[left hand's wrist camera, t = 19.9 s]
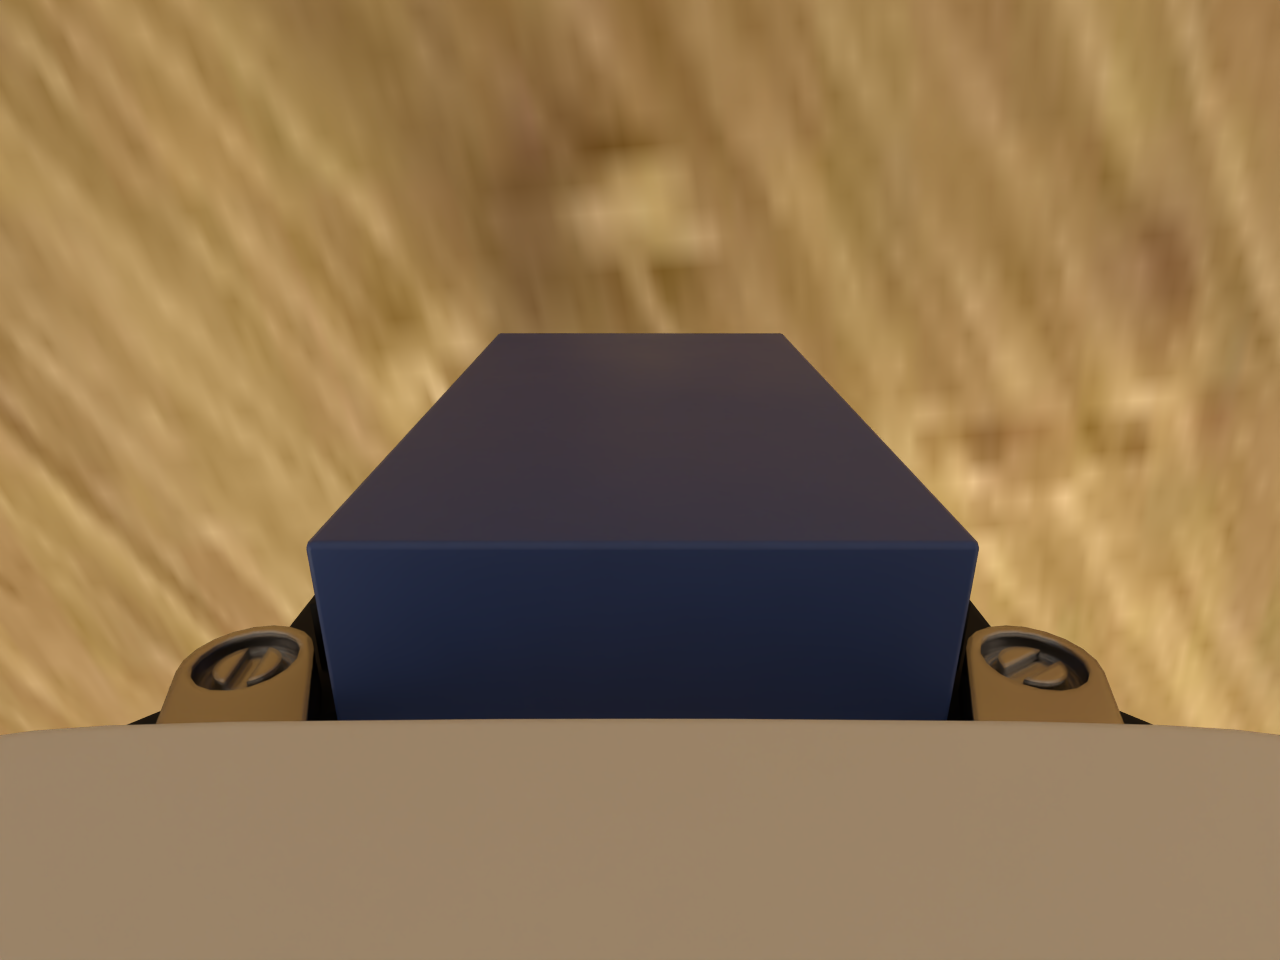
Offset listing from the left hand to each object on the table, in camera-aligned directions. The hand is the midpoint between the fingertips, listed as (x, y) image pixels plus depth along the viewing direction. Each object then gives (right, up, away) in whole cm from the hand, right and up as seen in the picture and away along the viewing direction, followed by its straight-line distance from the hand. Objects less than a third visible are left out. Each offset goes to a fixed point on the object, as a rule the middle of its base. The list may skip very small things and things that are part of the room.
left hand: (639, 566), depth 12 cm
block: (0, +2, +4) cm, 4 cm away
